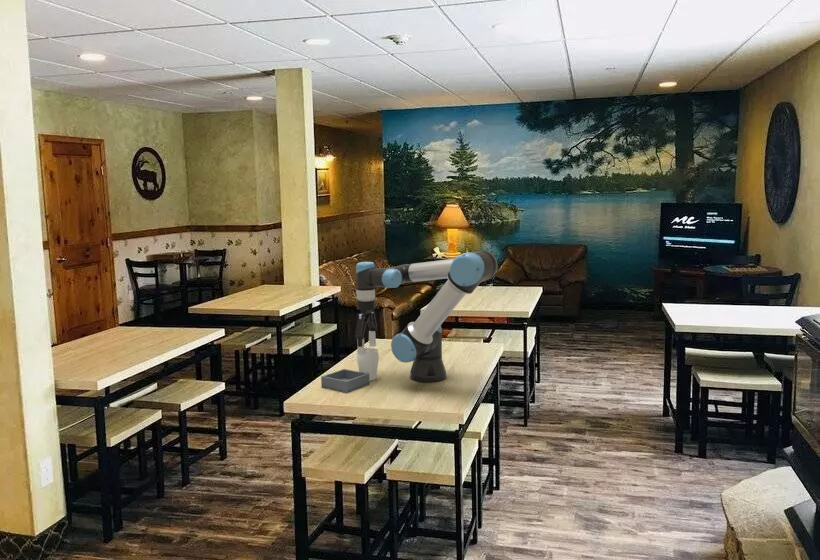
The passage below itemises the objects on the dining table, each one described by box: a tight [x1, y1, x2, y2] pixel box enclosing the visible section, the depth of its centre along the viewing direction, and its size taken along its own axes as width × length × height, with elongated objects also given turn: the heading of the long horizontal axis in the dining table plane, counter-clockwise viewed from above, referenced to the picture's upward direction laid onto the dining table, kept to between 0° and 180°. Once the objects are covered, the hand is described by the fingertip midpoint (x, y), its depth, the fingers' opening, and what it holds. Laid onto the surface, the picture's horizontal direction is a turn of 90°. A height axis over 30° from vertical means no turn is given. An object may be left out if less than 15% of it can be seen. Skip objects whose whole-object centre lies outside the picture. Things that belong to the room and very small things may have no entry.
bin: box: [320, 368, 370, 394], centre depth 272 cm, size 14×14×4 cm
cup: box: [356, 347, 379, 382], centre depth 281 cm, size 9×9×12 cm
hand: (366, 350), depth 280 cm, fingers open, 13 cm apart
